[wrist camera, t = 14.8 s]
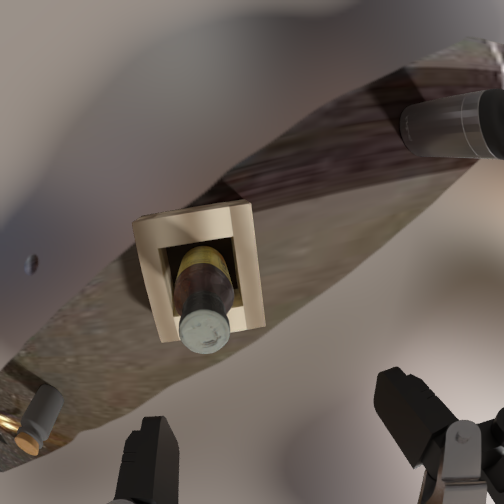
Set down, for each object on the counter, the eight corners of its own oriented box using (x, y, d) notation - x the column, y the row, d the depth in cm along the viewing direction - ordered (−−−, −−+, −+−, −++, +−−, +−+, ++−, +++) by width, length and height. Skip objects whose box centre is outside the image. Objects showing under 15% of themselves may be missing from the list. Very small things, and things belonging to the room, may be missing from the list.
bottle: (63, 409, 44) (42, 461, 29) (39, 397, 42) (14, 447, 28) (64, 392, 43) (39, 446, 28) (39, 379, 41) (9, 430, 27)
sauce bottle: (221, 288, 42) (237, 375, 23) (178, 282, 41) (162, 367, 22) (229, 244, 41) (252, 306, 22) (184, 237, 39) (167, 295, 20)
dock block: (244, 199, 39) (250, 203, 34) (257, 306, 44) (265, 326, 38) (142, 215, 38) (131, 223, 32) (165, 321, 42) (161, 342, 36)
